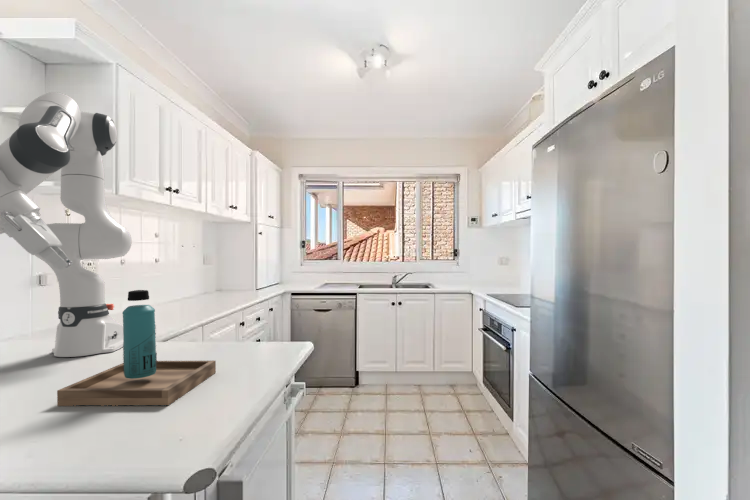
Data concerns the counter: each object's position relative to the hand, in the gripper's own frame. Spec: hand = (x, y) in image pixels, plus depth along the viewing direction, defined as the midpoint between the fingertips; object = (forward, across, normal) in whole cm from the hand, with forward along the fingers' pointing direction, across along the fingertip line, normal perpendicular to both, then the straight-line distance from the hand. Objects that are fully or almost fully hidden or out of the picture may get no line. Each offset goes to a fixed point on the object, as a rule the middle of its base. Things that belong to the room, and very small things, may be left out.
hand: (67, 266), depth 88 cm
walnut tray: (+30, -4, +6) cm, 31 cm away
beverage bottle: (+28, -4, +6) cm, 29 cm away
